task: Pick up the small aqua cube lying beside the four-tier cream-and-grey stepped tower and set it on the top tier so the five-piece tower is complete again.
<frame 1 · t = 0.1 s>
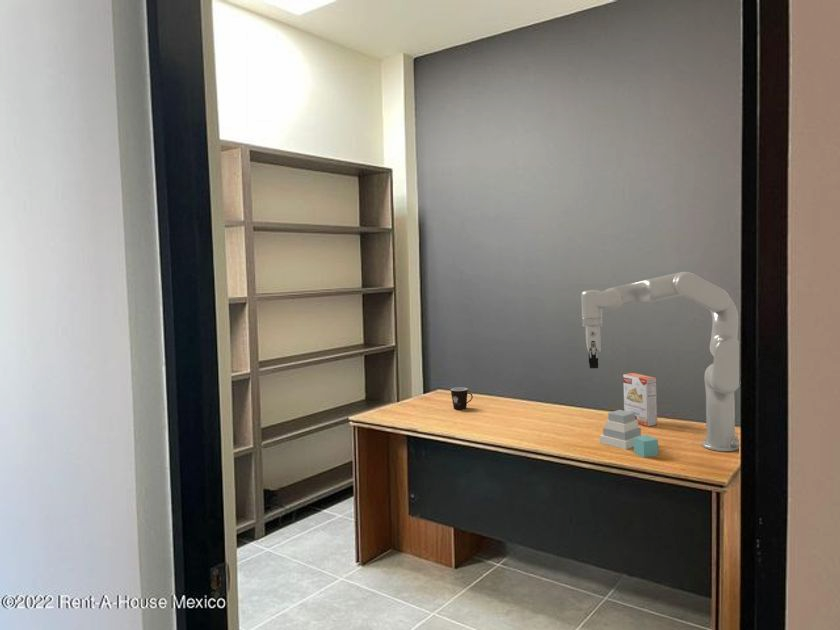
hand: (593, 365, 234), 31 cm above the table, tool pointing down, fingers open, 9 cm apart
tower: (622, 442, 236), on the table
small aqua cube: (646, 454, 222), on the table
cracker box: (640, 423, 263), on the table
coffee mug: (461, 409, 304), on the table
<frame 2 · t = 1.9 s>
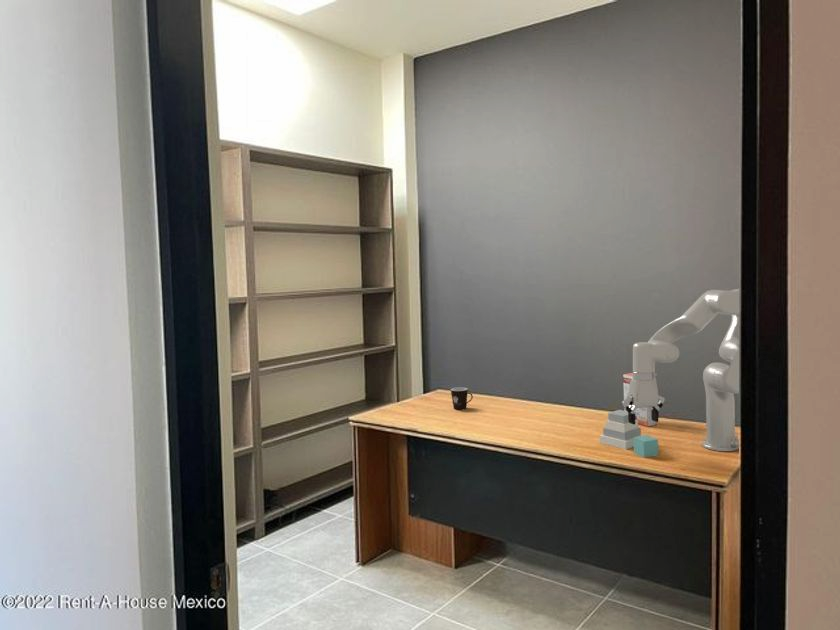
hand: (643, 422, 221), 12 cm above the table, tool pointing down, fingers open, 9 cm apart
nothing on the table moved.
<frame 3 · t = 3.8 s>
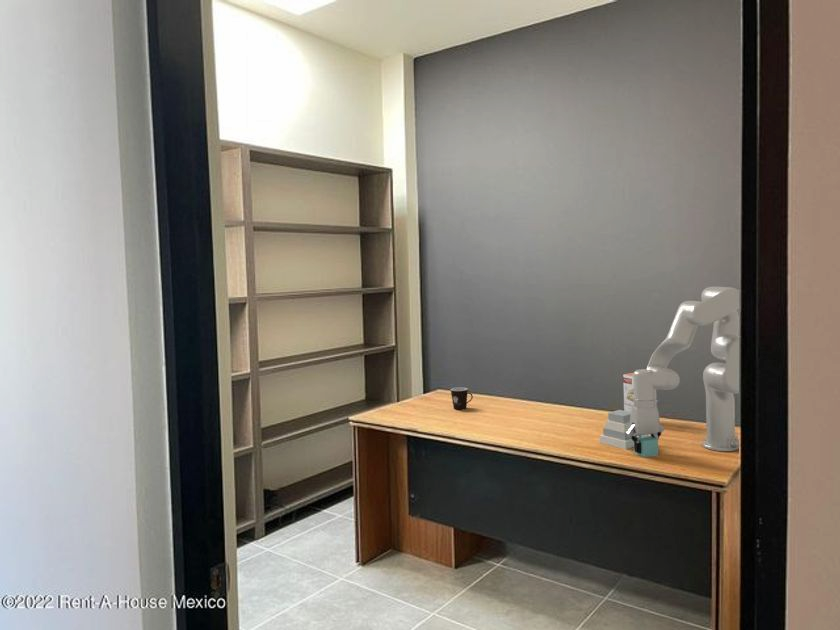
hand: (645, 450, 222), 1 cm above the table, tool pointing down, fingers closed on small aqua cube, 6 cm apart
small aqua cube: (645, 454, 222), on the table, touching gripper
everything else where it was.
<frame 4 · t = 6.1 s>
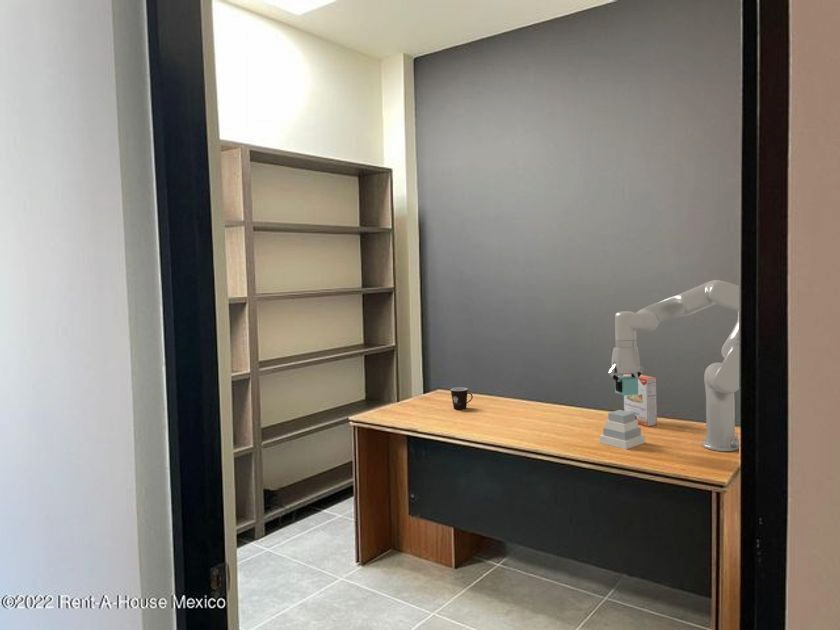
hand: (626, 390, 230), 22 cm above the table, tool pointing down, fingers closed on small aqua cube, 6 cm apart
small aqua cube: (626, 393, 230), point 21 cm above the table, touching gripper
everything else where it was.
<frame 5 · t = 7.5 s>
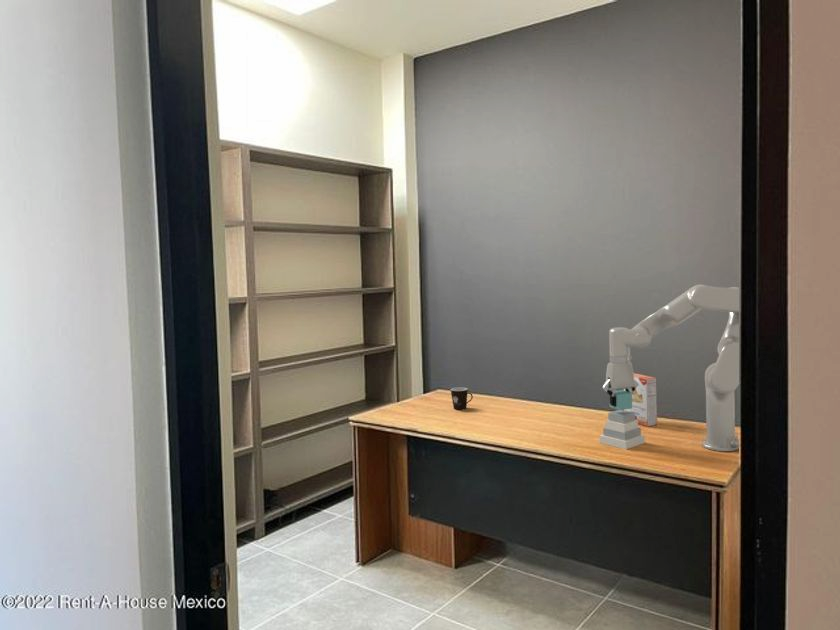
hand: (620, 404, 235), 15 cm above the table, tool pointing down, fingers closed on small aqua cube, 6 cm apart
small aqua cube: (620, 407, 235), point 14 cm above the table, touching gripper
everything else where it was.
when the fingers open (14 cm above the table, at t = 8.6 s): small aqua cube stays where it is, resting on tower.
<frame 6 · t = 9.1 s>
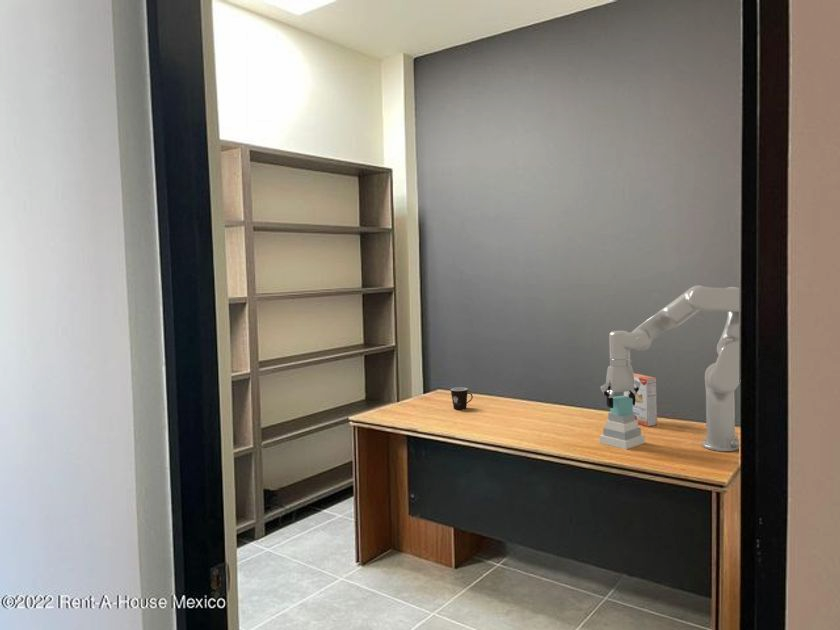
hand: (621, 405, 235), 15 cm above the table, tool pointing down, fingers open, 9 cm apart
small aqua cube: (621, 412, 235), point 12 cm above the table, touching tower
everything else where it was.
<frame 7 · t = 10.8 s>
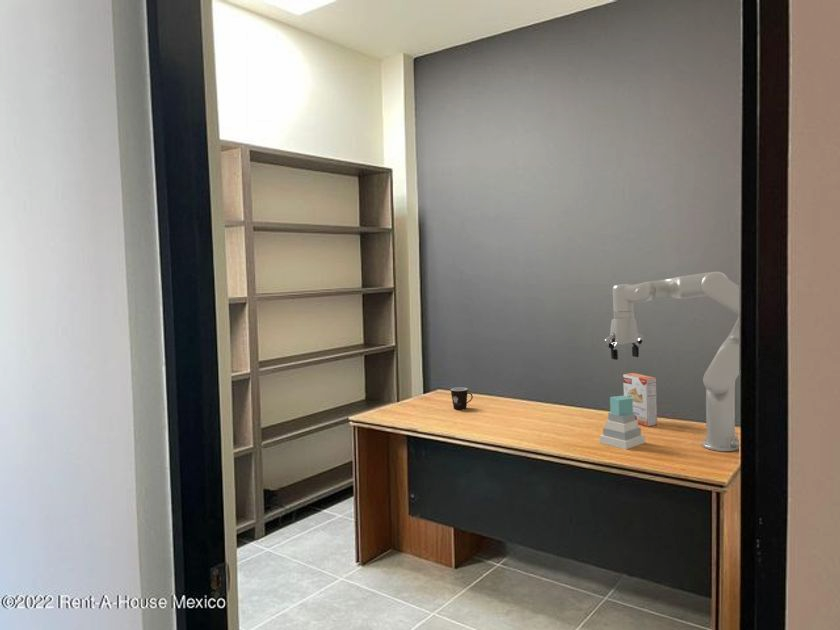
hand: (625, 357, 240), 32 cm above the table, tool pointing down, fingers open, 9 cm apart
nothing on the table moved.
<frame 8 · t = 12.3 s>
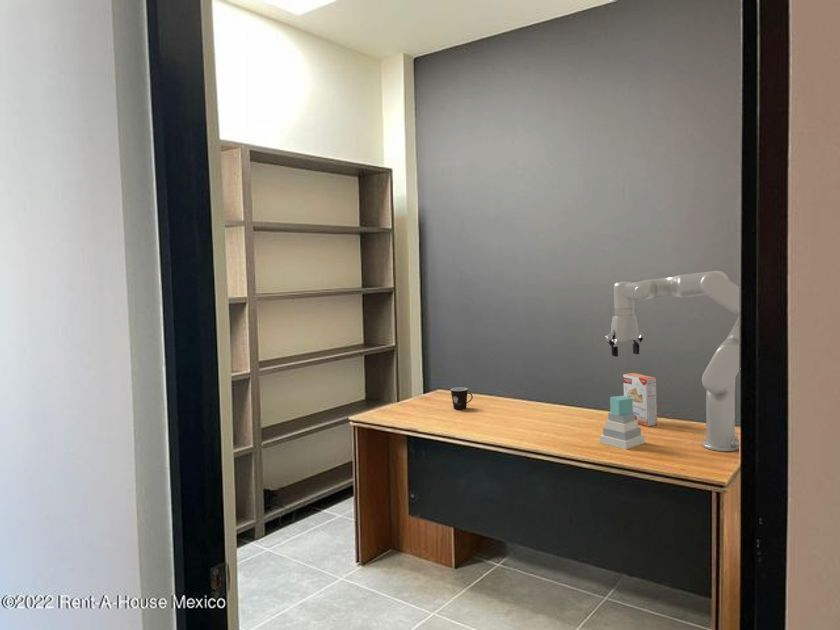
hand: (625, 355, 242), 33 cm above the table, tool pointing down, fingers open, 9 cm apart
nothing on the table moved.
at the end: small aqua cube 0.0 cm off-centre on the tower, point 12.0 cm above the tower's base; small aqua cube tilted 0°; the gripper is holding nothing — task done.
